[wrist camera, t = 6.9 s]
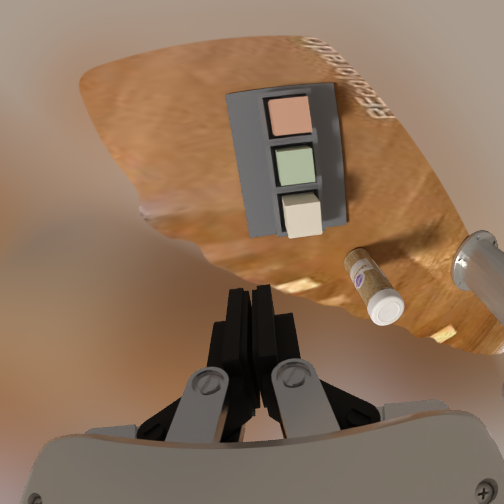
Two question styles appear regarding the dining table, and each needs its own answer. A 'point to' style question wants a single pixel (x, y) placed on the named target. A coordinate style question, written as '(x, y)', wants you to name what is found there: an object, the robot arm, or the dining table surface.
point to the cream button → (302, 214)
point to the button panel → (264, 141)
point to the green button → (295, 164)
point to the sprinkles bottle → (374, 287)
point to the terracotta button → (290, 115)
